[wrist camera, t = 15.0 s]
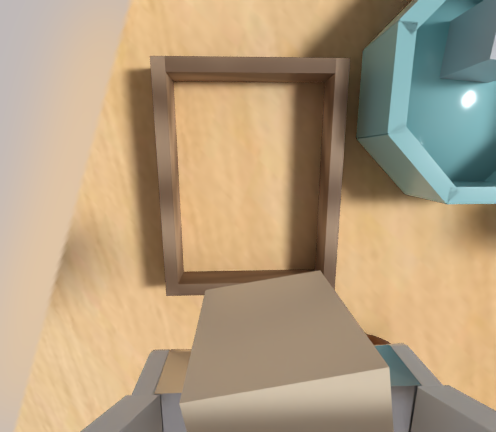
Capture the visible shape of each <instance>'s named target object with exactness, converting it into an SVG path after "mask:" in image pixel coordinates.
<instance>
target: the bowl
mask: <svg viewBox="0 0 496 432" xmlns="http://www.w3.org/2000/svg"><path fill="white" fill-rule="evenodd" d="M482 1H483V0H412V1H411V2H410V3H409V4H408V5H407V6H406V7H405V8H404V9H403V10H402V11H401V12H400V13H399V14H398V15H397V16H396V17H395V18H394V19H393V20H392V21H391V22H390V23H389V24H388V25H387V26H386V27H385V28H384V29H383V30H382V31H381V32H380V33H379V34H378V35H377V36H376V37H375V38H374V39H373V40H372V41H371V42H370V43H369V45H368V46H367V47H366V48H365V49H364V50H363V55H362V68H361V81H360V94H359V107H358V120H357V134H356V138H357V140H358V141H359V142H360V144H361V145H362V146H363V147H364V148H365V149H366V150H367V152H368V153H369V154H370V155H371V156H372V157H373V158H374V160H375V161H376V162H377V163H378V164H379V165H380V166H381V168H382V169H383V170H384V171H385V172H386V173H387V174H388V176H389V177H390V178H391V179H392V180H393V181H394V182H395V184H396V185H397V186H398V187H399V188H400V189H401V190H402V192H403V193H404V194H406V195H410V196H414V197H419V198H423V199H427V200H432V201H436V202H440V203H445V204H496V81H493V82H489V83H484V82H473V81H462V80H451V79H440V78H439V77H440V72H441V67H442V62H443V57H444V52H445V47H446V41H447V36H448V31H449V26H450V21H452V20H453V19H455V18H456V17H458V16H460V15H461V14H463V13H464V12H466V11H468V10H469V9H471V8H472V7H474V6H475V5H477V4H479V3H480V2H482Z"/></svg>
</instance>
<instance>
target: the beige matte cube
mask: <svg viewBox="0 0 496 432" xmlns="http://www.w3.org/2000/svg"><path fill="white" fill-rule="evenodd" d="M179 405H180V408H181V412H182V416H183V419H184V423H185V427H186V431H187V432H394V430H393V415H392V399H391V384H390V369H389V366H388V365H387V363H386V362H385V360H384V359H383V358H382V356H381V355H380V353H379V352H378V351H377V349H376V348H375V346H374V345H373V344H372V342H371V341H370V339H369V338H368V337H367V335H366V334H365V332H364V331H363V330H362V328H361V327H360V325H359V324H358V323H357V321H356V320H355V318H354V317H353V316H352V314H351V313H350V311H349V310H348V309H347V307H346V306H345V304H344V303H343V302H342V300H341V299H340V297H339V296H338V295H337V293H336V292H335V290H334V289H333V288H332V286H331V285H330V283H329V282H328V281H327V279H326V278H325V276H324V275H323V274H322V272H321V271H320V270H319V271H313V272H307V273H301V274H296V275H290V276H284V277H278V278H273V279H267V280H261V281H255V282H249V283H244V284H238V285H232V286H226V287H220V288H215V289H209V290H206V291H205V295H204V299H203V303H202V308H201V312H200V316H199V321H198V325H197V329H196V334H195V338H194V342H193V346H192V351H191V355H190V359H189V364H188V368H187V372H186V377H185V381H184V385H183V389H182V394H181V398H180V402H179Z"/></svg>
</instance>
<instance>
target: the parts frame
mask: <svg viewBox="0 0 496 432" xmlns="http://www.w3.org/2000/svg"><path fill="white" fill-rule="evenodd" d="M150 65H151V79H152V93H153V108H154V122H155V137H156V151H157V166H158V180H159V195H160V209H161V224H162V238H163V253H164V267H165V282H166V296H182V295H205V291H206V290H209V289H215V288H220V287H226V286H232V285H238V284H244V283H249V282H255V281H261V280H267V279H273V278H278V277H284V276H290V275H296V274H301V273H307V272H313V271H319V270H320V271H321V272H322V274H323V275H324V276H325V278H326V279H327V281H328V282H329V283H330V285H331V286H332V288H333V289H334V290H335V276H336V261H337V247H338V232H339V217H340V202H341V188H342V173H343V158H344V144H345V129H346V114H347V99H348V85H349V70H350V58H296V57H204V56H150ZM173 81H222V82H325V87H324V106H323V126H322V145H321V165H320V184H319V204H318V223H317V243H316V262H315V270H267V271H210V272H184V268H183V249H182V231H181V212H180V194H179V175H178V156H177V138H176V119H175V101H174V82H173Z"/></svg>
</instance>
